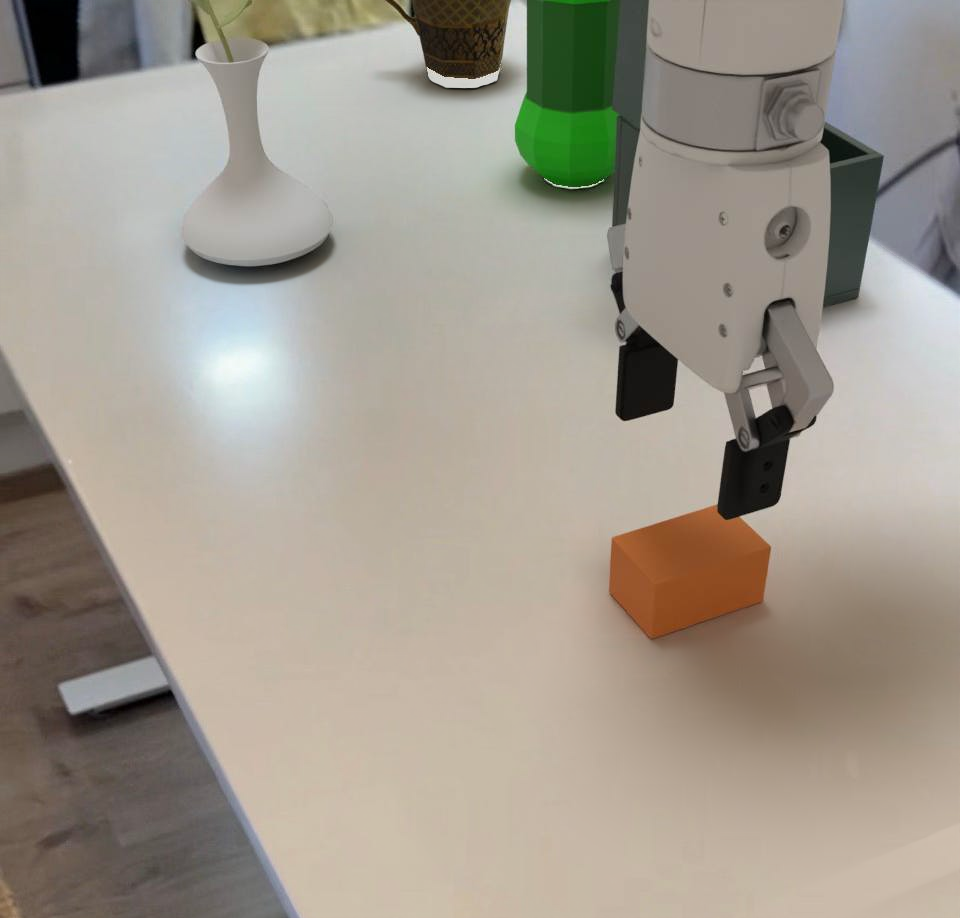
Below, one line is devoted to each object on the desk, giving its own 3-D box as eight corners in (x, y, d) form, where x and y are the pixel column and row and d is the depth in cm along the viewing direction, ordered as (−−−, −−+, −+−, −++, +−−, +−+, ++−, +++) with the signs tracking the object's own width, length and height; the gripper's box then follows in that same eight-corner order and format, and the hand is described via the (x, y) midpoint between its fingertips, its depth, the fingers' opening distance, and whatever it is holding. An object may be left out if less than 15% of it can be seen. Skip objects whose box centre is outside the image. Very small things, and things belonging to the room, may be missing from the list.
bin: (746, 218, 107) (761, 83, 100) (858, 297, 98) (884, 155, 91) (610, 252, 104) (616, 115, 97) (713, 337, 95) (728, 193, 88)
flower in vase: (358, 261, 104) (321, -137, 86) (212, 295, 101) (141, -110, 82) (297, 195, 112) (251, -180, 94) (160, 226, 109) (85, -157, 91)
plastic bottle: (664, 172, 113) (690, -203, 95) (577, 215, 108) (588, -173, 90) (572, 140, 118) (580, -223, 100) (485, 179, 113) (477, -195, 95)
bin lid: (639, -108, 87) (571, -101, 86) (767, -47, 78) (694, -37, 77) (621, 108, 96) (560, 118, 95) (735, 184, 88) (669, 197, 86)
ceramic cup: (524, 58, 132) (524, -64, 124) (512, 98, 125) (510, -28, 117) (389, 55, 133) (380, -65, 126) (369, 95, 126) (359, -30, 119)
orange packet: (717, 556, 78) (724, 501, 76) (763, 601, 75) (772, 546, 73) (608, 591, 76) (610, 537, 74) (650, 639, 73) (655, 584, 71)
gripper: (944, 151, 53) (860, 531, 65) (701, 15, 63) (669, 364, 76) (777, 189, 50) (723, 574, 63) (555, 42, 61) (546, 396, 74)
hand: (693, 459), depth 69 cm, fingers open, 9 cm apart
